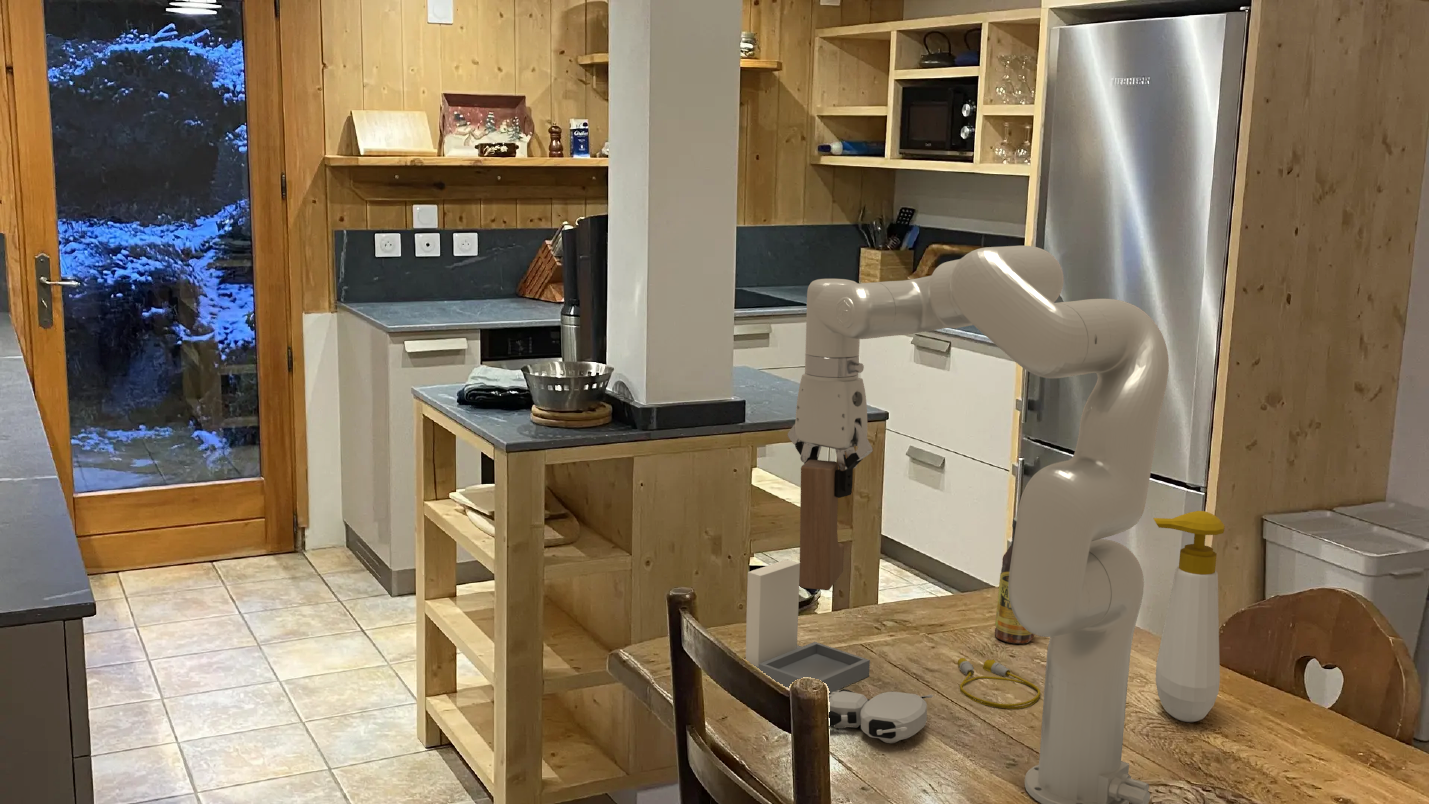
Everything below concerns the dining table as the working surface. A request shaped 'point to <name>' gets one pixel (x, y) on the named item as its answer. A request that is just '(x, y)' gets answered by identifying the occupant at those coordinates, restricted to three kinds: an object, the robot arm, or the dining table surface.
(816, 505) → the wooden block
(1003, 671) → the extension cord
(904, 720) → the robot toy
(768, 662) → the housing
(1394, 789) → the dining table surface
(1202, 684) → the soap bottle
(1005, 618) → the sauce bottle
